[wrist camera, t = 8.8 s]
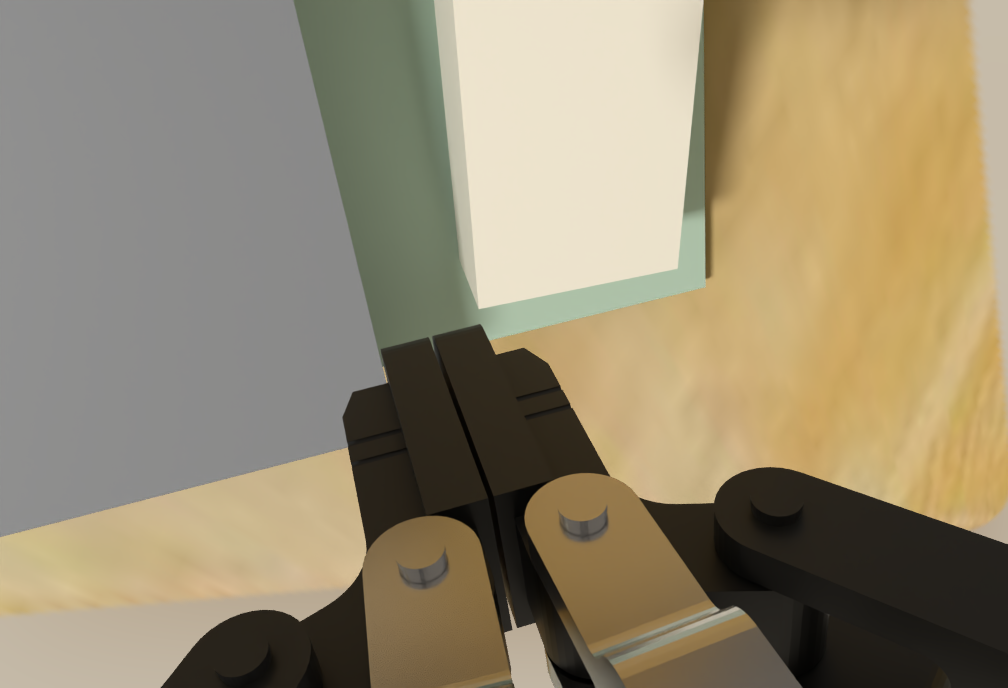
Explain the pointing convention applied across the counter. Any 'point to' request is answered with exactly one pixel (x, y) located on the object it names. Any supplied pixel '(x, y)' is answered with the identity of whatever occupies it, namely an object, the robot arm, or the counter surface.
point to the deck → (166, 254)
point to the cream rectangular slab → (567, 139)
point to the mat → (438, 179)
